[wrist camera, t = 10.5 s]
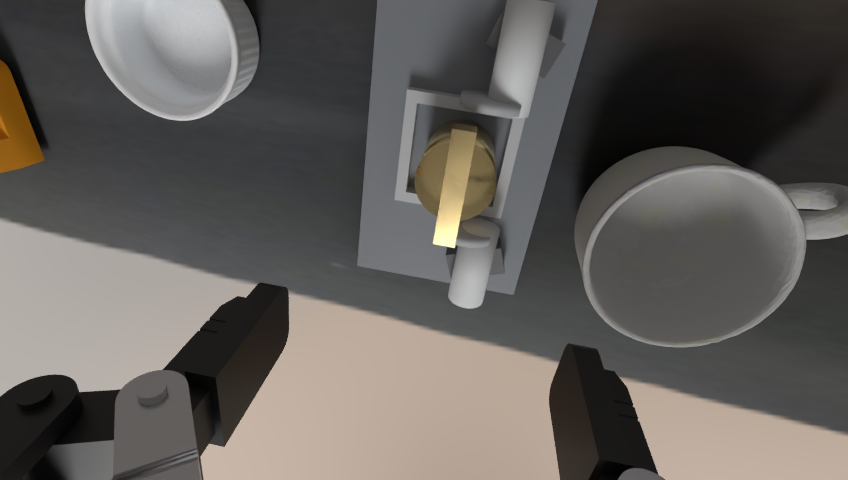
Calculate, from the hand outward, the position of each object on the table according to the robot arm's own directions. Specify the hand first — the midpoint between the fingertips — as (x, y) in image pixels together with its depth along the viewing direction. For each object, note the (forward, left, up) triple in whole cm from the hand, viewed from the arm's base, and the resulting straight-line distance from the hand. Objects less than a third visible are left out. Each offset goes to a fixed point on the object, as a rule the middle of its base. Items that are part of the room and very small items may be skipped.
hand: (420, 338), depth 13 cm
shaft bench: (0, 0, -20) cm, 20 cm away
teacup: (-12, +8, -20) cm, 25 cm away
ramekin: (+13, -13, -20) cm, 27 cm away
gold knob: (0, 0, -18) cm, 18 cm away
